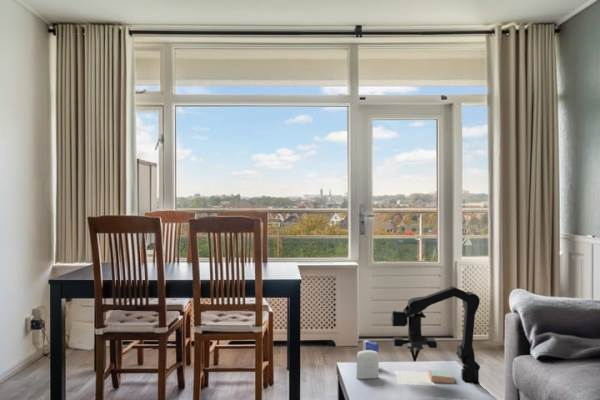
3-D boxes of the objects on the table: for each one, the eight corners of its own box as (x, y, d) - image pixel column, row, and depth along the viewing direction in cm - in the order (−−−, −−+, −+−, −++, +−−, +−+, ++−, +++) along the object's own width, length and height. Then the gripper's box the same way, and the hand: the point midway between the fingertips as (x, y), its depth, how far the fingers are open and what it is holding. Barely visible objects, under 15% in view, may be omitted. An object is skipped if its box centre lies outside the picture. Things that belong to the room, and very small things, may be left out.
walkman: (378, 367, 215) (378, 343, 215) (374, 369, 213) (374, 344, 214) (366, 363, 221) (366, 339, 222) (362, 364, 219) (362, 340, 220)
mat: (429, 373, 208) (429, 372, 208) (435, 387, 192) (435, 385, 192) (394, 371, 210) (394, 370, 210) (398, 385, 194) (398, 383, 194)
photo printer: (377, 375, 205) (377, 348, 206) (379, 378, 201) (380, 351, 201) (355, 376, 204) (355, 349, 204) (357, 379, 200) (358, 352, 200)
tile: (428, 375, 204) (450, 378, 203) (431, 381, 197) (454, 384, 196) (428, 369, 204) (450, 372, 203) (431, 375, 197) (454, 377, 196)
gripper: (395, 330, 195) (395, 366, 194) (439, 332, 193) (439, 368, 192) (393, 324, 206) (393, 358, 205) (434, 325, 204) (434, 360, 203)
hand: (414, 361), depth 201 cm, fingers closed
